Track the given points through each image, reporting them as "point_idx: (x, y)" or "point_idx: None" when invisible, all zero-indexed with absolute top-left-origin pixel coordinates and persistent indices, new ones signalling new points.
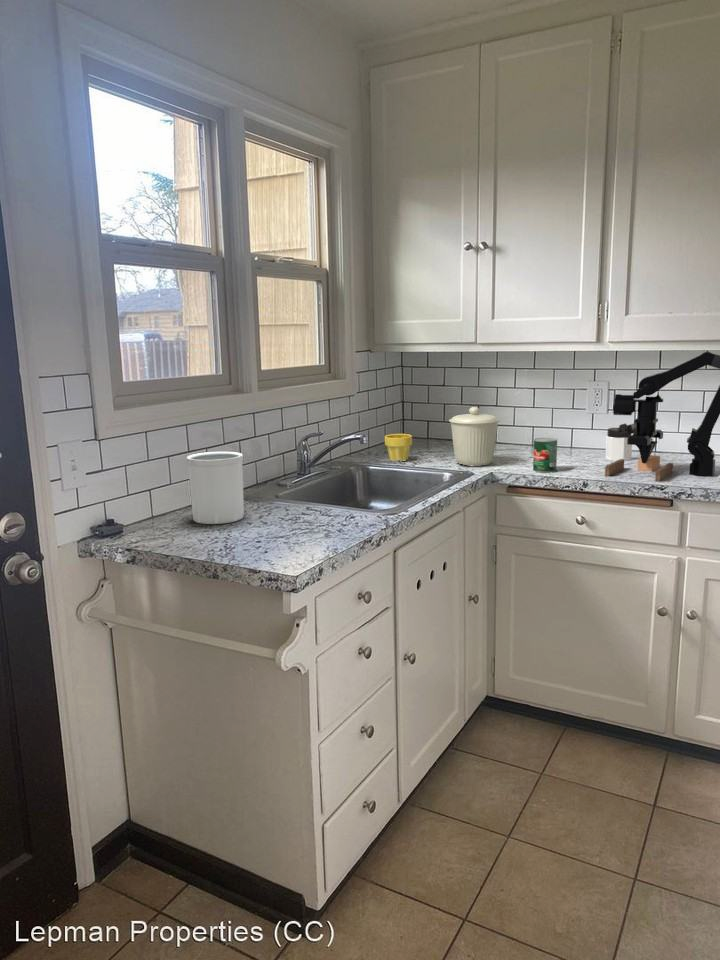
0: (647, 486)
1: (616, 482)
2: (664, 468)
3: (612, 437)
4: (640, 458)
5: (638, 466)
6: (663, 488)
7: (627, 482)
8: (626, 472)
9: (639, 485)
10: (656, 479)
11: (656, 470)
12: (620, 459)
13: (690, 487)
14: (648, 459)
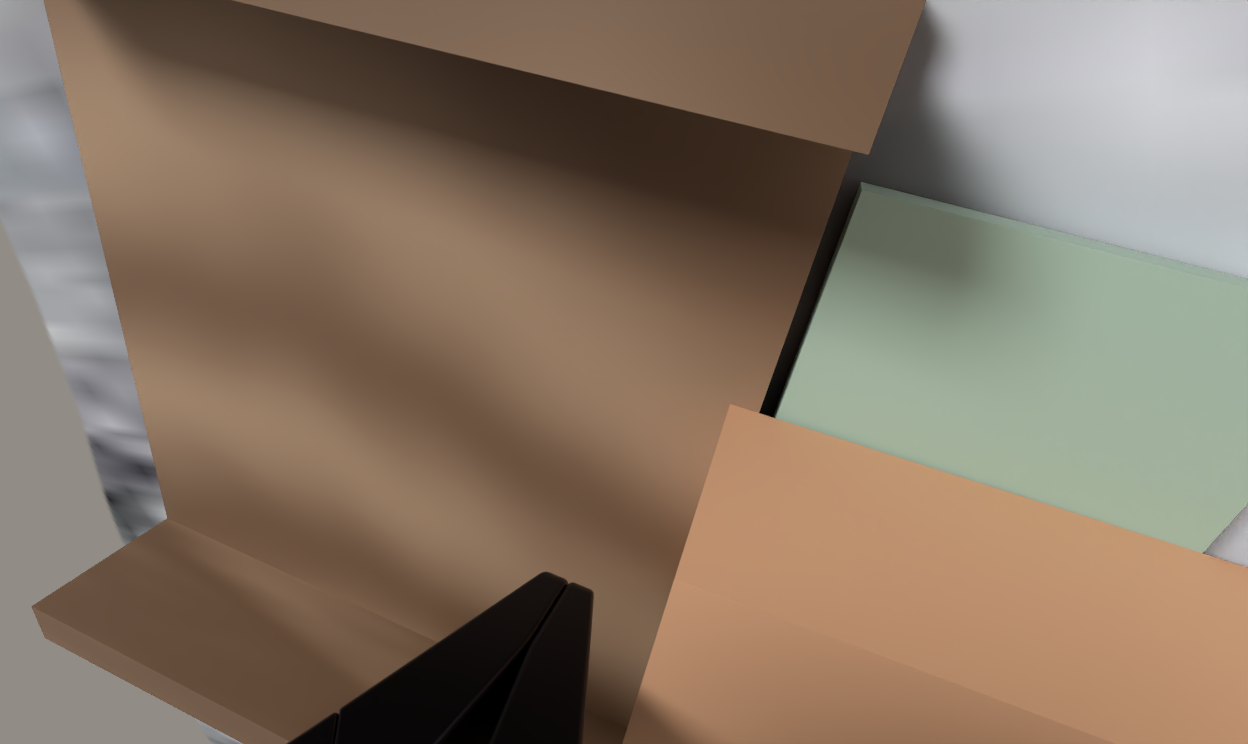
0: (115, 429)
1: (58, 94)
2: (202, 719)
3: None
4: (682, 625)
5: (714, 463)
6: (135, 536)
7: None
8: (865, 182)
9: (102, 362)
10: (145, 544)
11: (45, 615)
12: (766, 6)
13: None
14: (627, 738)
